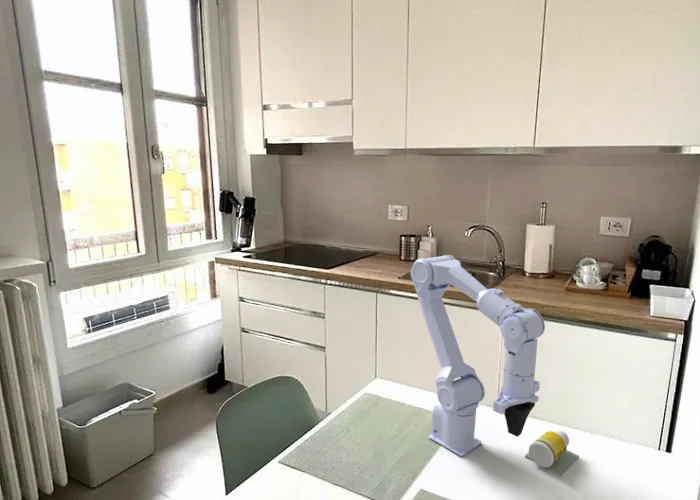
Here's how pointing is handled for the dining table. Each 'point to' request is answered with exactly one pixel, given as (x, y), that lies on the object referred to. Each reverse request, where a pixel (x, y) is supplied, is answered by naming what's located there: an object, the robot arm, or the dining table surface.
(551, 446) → the supplement bottle
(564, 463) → the mat
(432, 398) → the dining table surface
